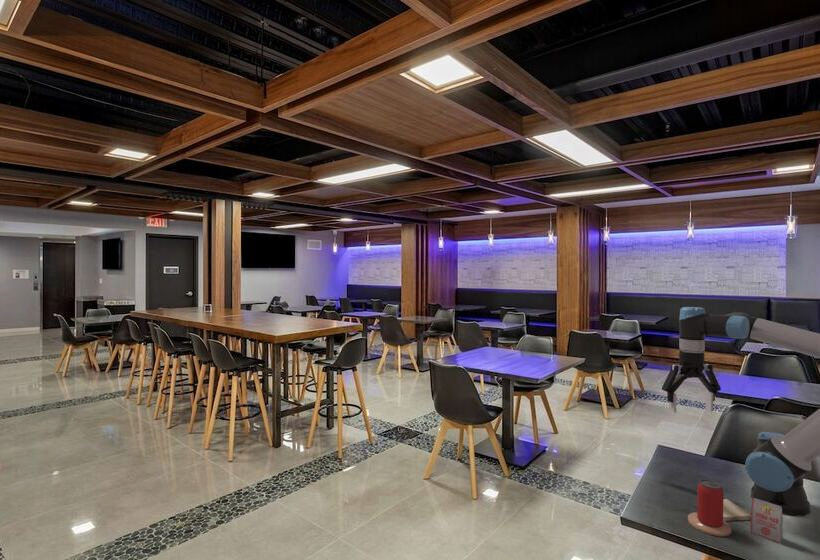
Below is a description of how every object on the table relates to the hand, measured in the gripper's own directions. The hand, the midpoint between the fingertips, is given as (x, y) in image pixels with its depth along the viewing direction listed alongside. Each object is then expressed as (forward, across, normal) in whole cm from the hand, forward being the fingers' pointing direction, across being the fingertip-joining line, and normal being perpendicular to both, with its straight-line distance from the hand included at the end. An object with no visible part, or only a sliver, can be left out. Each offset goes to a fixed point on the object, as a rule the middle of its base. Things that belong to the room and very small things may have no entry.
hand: (691, 410), depth 152 cm
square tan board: (+29, -2, +13) cm, 32 cm away
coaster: (+29, +9, +20) cm, 36 cm away
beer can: (+28, +9, +20) cm, 35 cm away
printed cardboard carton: (+29, -4, +26) cm, 39 cm away
